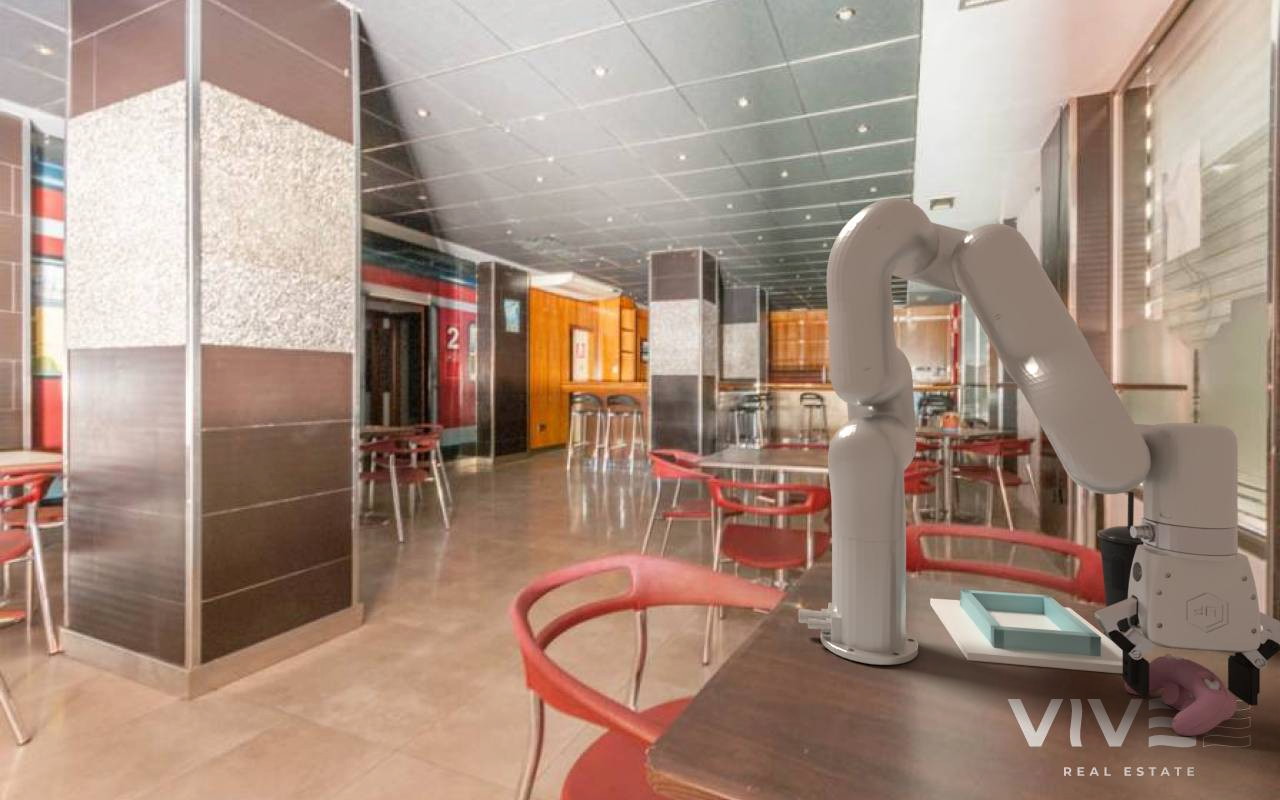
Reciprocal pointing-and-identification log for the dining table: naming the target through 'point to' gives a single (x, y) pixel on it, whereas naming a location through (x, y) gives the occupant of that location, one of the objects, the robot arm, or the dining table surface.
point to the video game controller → (1203, 684)
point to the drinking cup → (1118, 560)
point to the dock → (1026, 632)
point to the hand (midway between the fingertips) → (1188, 694)
